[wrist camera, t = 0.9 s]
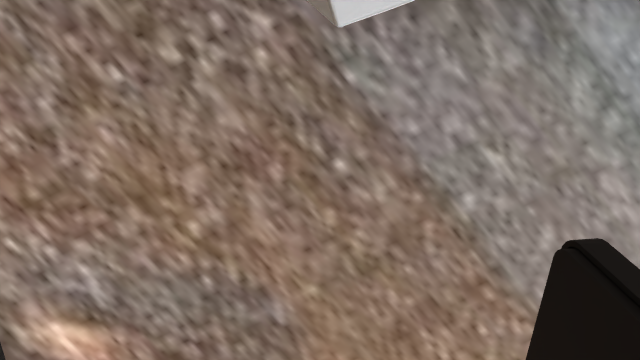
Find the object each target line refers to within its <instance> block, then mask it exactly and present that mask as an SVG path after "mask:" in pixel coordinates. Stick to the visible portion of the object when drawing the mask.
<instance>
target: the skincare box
mask: <svg viewBox="0 0 640 360" xmlns="http://www.w3.org/2000/svg"><path fill="white" fill-rule="evenodd" d="M306 1H307V2H309V3H310V4H311V5H312V6H313V7H314V8H315V9H317V10H318V11H319V12H320V13H321V14H322V15H323V16H325V17H326V18H327V19H328V20H329V21H330V22H331V23H332V24H334V25H335V26H336V27H342V26H345V25H348V24H351V23H354V22H357V21H359V20H362V19H365V18H368V17H371V16H374V15H377V14H380V13H382V12H385V11H388V10H391V9H393V8H396V7H399V6H401V5H404V4H406V3H409V2H412V1H414V0H306Z"/></svg>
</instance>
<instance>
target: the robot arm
mask: <svg viewBox="0 0 640 360" xmlns="http://www.w3.org/2000/svg"><path fill="white" fill-rule="evenodd" d="M0 360H5V356H4V353H3V350H2V347H1V343H0ZM526 360H640V269H638V268H637V267H636V266H635V265H634V264H633V263H631V262H630V261H629V260H628V259H627V258H625V257H624V256H623V255H622V254H621V253H620V252H618V251H617V250H616V249H615V248H614V247H612V246H611V245H610V244H609V243H608V242H606V241H605V240H603V239H598V238H596V239H582V240H570V241H567V242H565V244H564V245H563V246H562V248H561V249H560V250H557V252H556V253H555V255H554V257H553V260H552V264H551V268H550V272H549V275H548V279H547V283H546V286H545V290H544V294H543V297H542V301H541V305H540V309H539V312H538V316H537V320H536V323H535V327H534V331H533V334H532V338H531V342H530V346H529V349H528V353H527V357H526Z"/></svg>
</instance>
